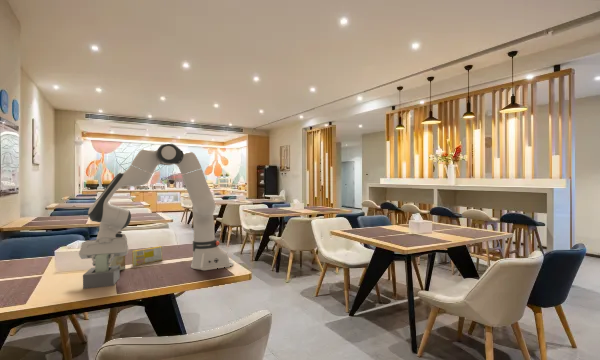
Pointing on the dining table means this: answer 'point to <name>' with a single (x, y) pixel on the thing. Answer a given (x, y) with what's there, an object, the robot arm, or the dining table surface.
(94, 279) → the block
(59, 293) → the dining table surface
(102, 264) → the sage post
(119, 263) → the skincare box
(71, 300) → the dining table surface
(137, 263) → the candy box
